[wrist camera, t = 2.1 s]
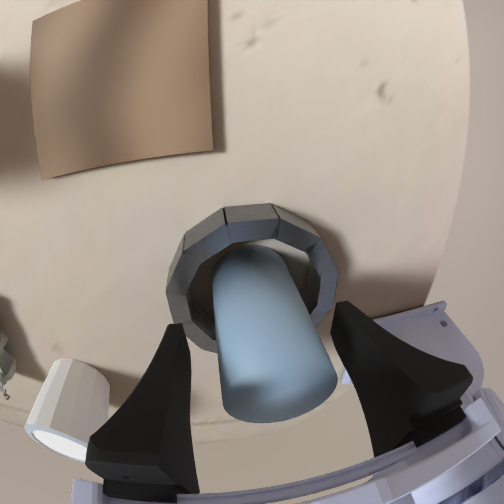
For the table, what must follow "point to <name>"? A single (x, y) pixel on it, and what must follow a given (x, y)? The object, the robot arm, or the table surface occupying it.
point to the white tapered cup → (69, 408)
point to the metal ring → (239, 230)
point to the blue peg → (266, 340)
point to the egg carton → (5, 364)
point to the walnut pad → (119, 83)
